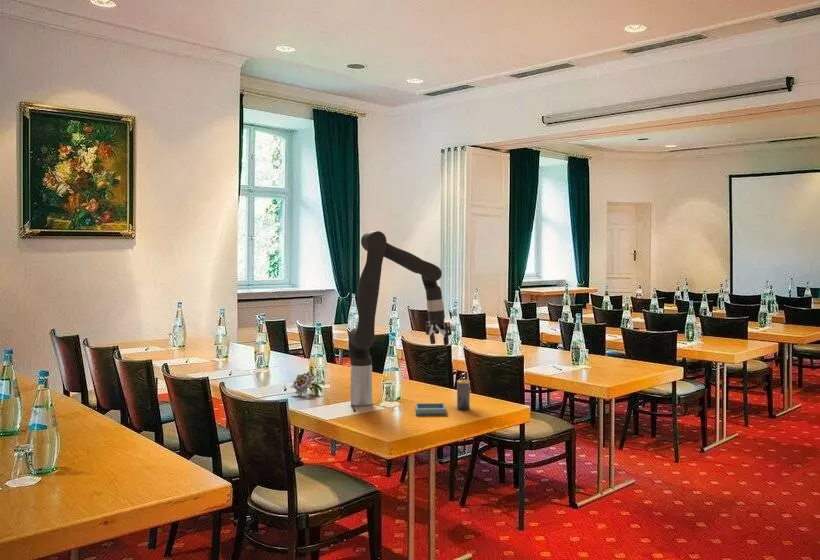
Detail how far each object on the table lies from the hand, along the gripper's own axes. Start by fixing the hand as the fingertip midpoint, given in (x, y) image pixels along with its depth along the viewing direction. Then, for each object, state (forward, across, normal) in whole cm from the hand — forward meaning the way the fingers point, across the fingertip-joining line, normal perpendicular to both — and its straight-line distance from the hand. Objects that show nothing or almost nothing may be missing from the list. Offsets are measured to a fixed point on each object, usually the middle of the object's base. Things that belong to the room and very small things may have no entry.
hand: (439, 344), depth 329 cm
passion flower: (+17, -46, -44) cm, 66 cm away
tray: (+21, +20, -29) cm, 41 cm away
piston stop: (+23, +26, -16) cm, 38 cm away
